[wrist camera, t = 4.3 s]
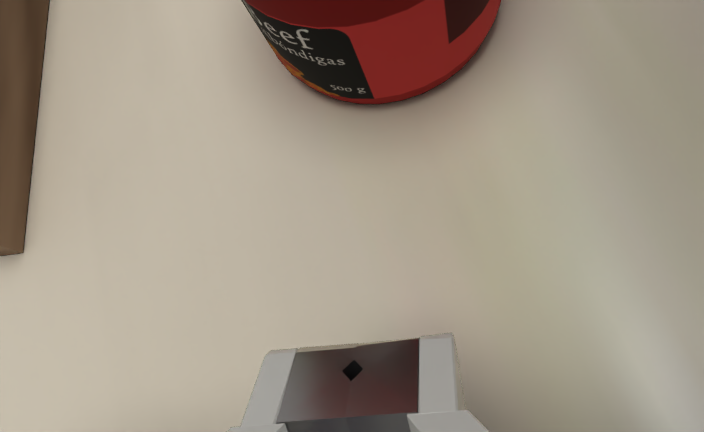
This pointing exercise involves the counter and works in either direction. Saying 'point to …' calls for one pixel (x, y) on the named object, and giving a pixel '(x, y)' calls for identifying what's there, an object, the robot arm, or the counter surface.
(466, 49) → the canned food
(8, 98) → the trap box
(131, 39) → the counter surface
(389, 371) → the robot arm
